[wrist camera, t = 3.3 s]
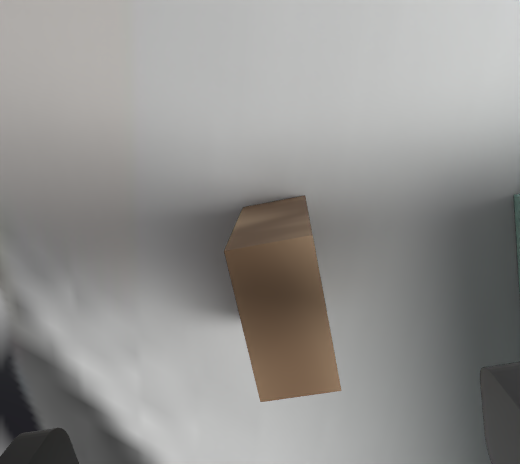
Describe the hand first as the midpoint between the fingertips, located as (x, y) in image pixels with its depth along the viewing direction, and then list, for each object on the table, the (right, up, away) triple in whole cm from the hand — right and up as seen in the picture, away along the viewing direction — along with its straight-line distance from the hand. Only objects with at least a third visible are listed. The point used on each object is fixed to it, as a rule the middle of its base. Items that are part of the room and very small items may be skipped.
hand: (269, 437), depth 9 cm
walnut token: (+1, +3, +10) cm, 10 cm away
